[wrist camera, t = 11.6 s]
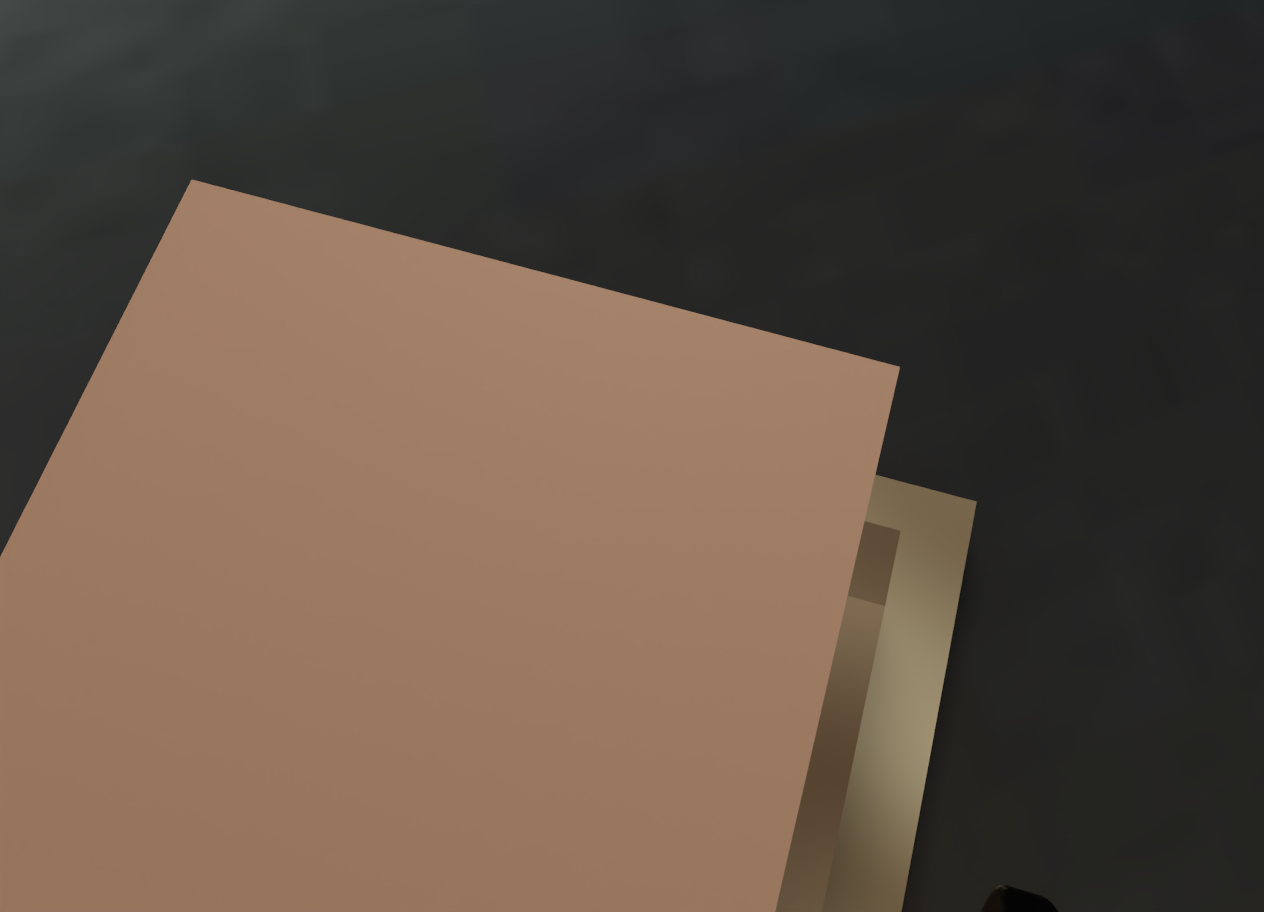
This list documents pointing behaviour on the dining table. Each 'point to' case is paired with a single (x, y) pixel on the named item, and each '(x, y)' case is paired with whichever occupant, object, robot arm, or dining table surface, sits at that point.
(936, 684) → the socket stand
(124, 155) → the dining table surface
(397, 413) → the birch post
